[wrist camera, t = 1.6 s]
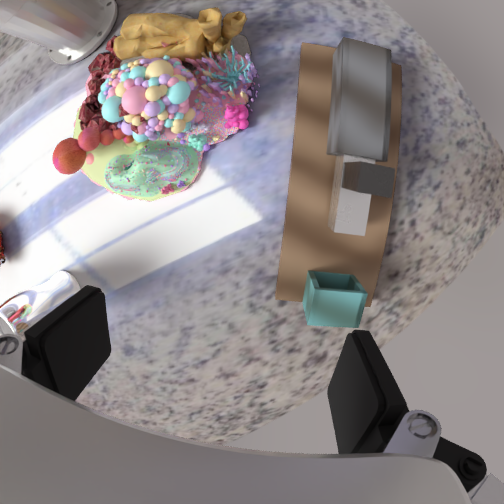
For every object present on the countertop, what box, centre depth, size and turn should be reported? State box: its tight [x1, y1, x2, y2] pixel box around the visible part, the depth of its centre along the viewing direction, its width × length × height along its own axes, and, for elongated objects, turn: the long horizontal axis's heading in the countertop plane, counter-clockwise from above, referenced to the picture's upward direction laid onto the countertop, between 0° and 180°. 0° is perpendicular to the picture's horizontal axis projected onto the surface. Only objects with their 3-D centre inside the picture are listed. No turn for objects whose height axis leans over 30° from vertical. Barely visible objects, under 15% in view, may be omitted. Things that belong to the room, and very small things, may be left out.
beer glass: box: [0, 271, 81, 342], centre depth 29 cm, size 7×7×15 cm
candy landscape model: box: [53, 7, 260, 202], centre depth 24 cm, size 25×24×9 cm
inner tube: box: [327, 153, 395, 236], centre depth 23 cm, size 19×3×8 cm, turn 175°
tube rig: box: [275, 37, 402, 328], centre depth 27 cm, size 30×12×7 cm, turn 175°
